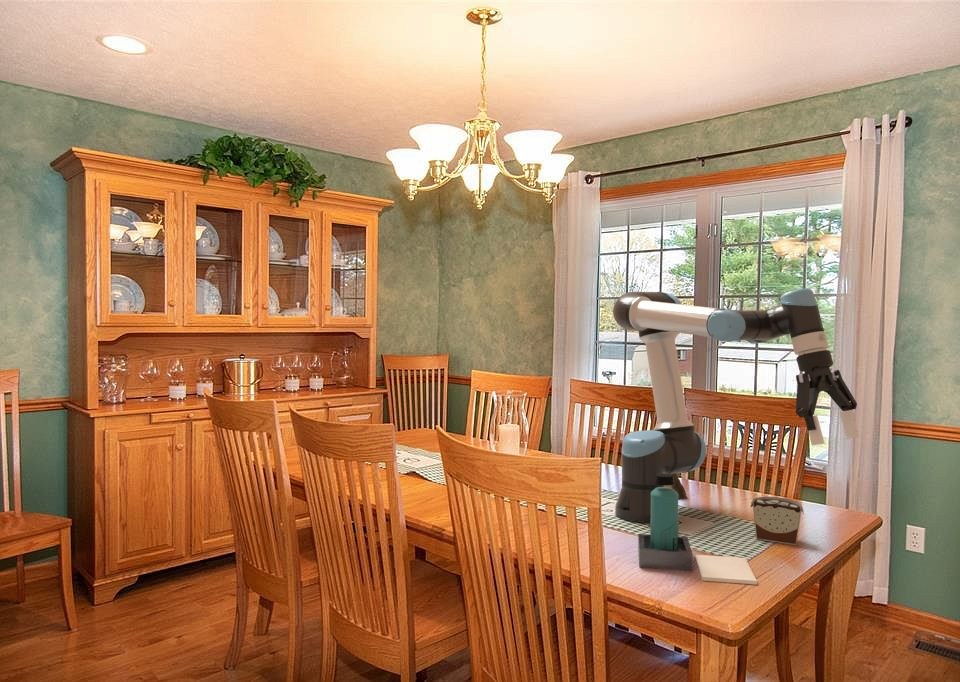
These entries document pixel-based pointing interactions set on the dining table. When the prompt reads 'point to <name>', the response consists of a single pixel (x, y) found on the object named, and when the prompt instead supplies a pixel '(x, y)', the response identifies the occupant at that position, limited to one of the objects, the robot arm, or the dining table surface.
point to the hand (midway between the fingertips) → (836, 441)
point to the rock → (677, 487)
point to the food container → (777, 519)
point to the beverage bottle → (664, 515)
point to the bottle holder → (664, 555)
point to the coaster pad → (725, 569)
